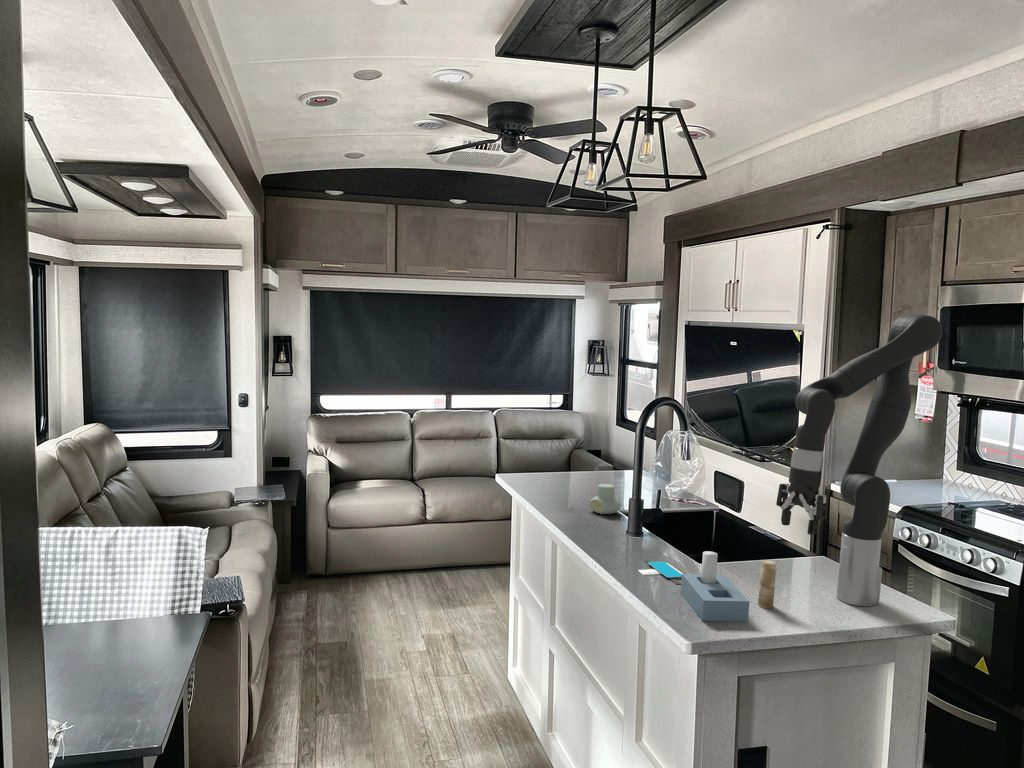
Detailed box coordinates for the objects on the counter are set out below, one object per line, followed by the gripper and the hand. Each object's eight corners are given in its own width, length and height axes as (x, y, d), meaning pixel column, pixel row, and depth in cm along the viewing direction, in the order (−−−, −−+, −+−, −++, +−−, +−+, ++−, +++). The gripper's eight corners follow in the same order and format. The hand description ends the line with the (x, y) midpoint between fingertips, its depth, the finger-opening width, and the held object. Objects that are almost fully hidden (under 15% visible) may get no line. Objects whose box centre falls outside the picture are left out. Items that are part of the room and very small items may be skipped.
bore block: (722, 593, 196) (725, 548, 195) (747, 621, 178) (751, 572, 177) (680, 592, 196) (683, 547, 194) (702, 621, 178) (705, 571, 177)
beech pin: (769, 602, 191) (773, 560, 190) (775, 608, 188) (778, 565, 187) (755, 602, 191) (759, 560, 190) (761, 608, 188) (764, 565, 186)
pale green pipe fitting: (623, 515, 270) (625, 487, 269) (607, 517, 265) (608, 489, 264) (602, 507, 279) (604, 481, 278) (585, 510, 274) (587, 483, 273)
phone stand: (624, 563, 219) (625, 557, 219) (662, 561, 222) (662, 555, 222) (656, 587, 200) (656, 581, 200) (696, 585, 203) (697, 579, 203)
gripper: (840, 473, 186) (831, 537, 187) (795, 461, 199) (787, 521, 200) (818, 472, 183) (809, 538, 184) (774, 460, 196) (766, 522, 197)
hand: (798, 529), depth 192 cm, fingers open, 8 cm apart
